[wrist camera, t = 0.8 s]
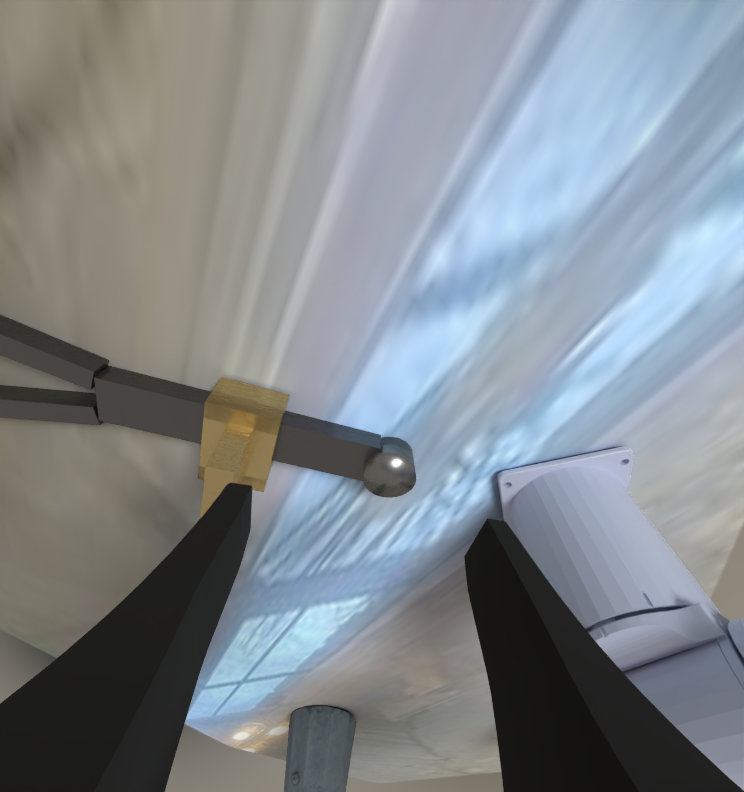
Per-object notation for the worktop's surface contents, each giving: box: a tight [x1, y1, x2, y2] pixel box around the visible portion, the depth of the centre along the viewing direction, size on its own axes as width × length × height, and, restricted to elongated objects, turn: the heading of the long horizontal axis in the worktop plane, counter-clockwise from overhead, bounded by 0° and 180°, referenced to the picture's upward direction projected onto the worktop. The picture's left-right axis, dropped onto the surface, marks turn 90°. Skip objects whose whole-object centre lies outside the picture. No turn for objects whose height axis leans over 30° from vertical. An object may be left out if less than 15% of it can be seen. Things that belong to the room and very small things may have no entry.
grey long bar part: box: [0, 315, 416, 497], centre depth 19 cm, size 30×9×2 cm, turn 72°
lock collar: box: [198, 377, 289, 518], centre depth 18 cm, size 4×5×5 cm, turn 162°
